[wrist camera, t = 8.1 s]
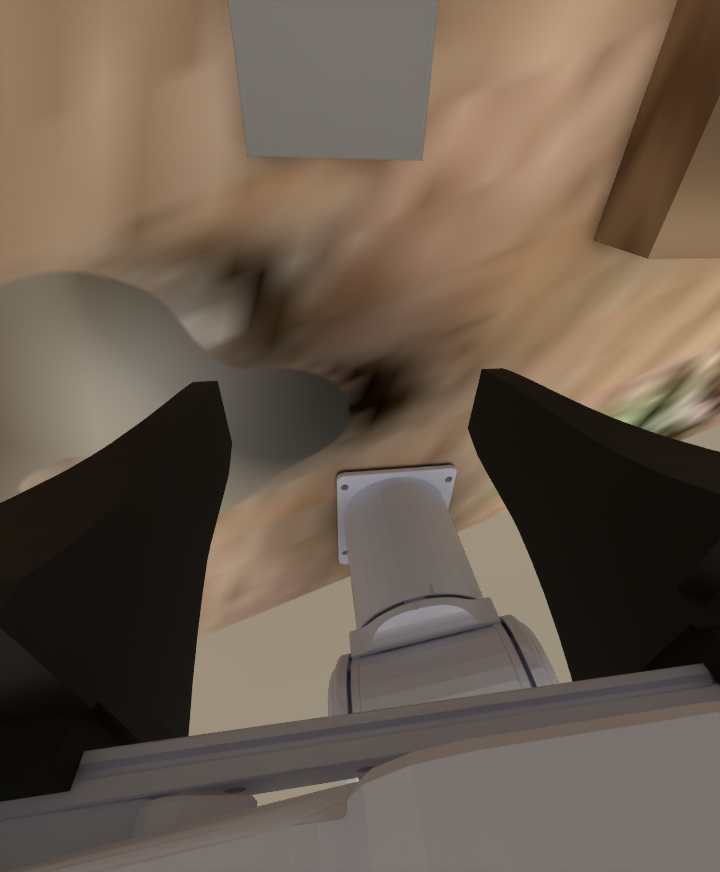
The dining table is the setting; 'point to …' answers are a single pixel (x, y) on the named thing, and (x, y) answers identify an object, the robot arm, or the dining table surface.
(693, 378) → the dining table surface
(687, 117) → the walnut block
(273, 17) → the charcoal cube
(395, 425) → the dining table surface
